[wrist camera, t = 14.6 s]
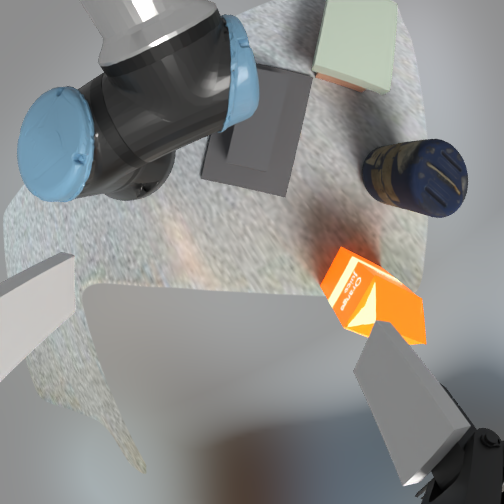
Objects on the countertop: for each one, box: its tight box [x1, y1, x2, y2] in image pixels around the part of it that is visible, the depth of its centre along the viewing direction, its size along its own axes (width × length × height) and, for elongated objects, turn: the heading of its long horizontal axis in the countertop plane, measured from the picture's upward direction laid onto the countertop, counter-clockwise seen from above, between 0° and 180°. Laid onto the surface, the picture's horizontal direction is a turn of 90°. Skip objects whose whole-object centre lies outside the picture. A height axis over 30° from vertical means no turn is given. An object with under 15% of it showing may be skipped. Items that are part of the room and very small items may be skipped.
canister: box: [363, 139, 468, 218], centre depth 34 cm, size 10×10×18 cm
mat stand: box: [201, 64, 313, 197], centre depth 38 cm, size 13×20×6 cm, turn 167°
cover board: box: [311, 0, 398, 95], centre depth 30 cm, size 11×18×2 cm, turn 167°
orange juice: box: [320, 247, 426, 345], centre depth 38 cm, size 8×9×20 cm
